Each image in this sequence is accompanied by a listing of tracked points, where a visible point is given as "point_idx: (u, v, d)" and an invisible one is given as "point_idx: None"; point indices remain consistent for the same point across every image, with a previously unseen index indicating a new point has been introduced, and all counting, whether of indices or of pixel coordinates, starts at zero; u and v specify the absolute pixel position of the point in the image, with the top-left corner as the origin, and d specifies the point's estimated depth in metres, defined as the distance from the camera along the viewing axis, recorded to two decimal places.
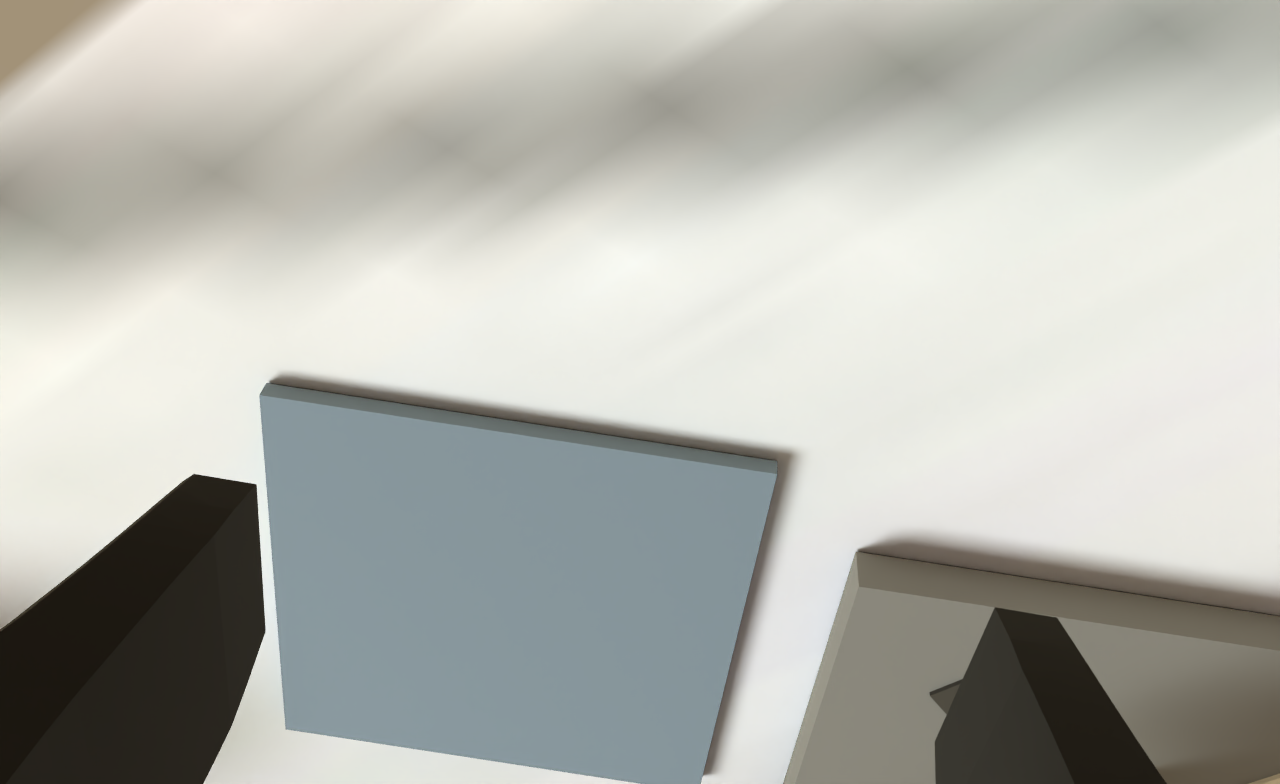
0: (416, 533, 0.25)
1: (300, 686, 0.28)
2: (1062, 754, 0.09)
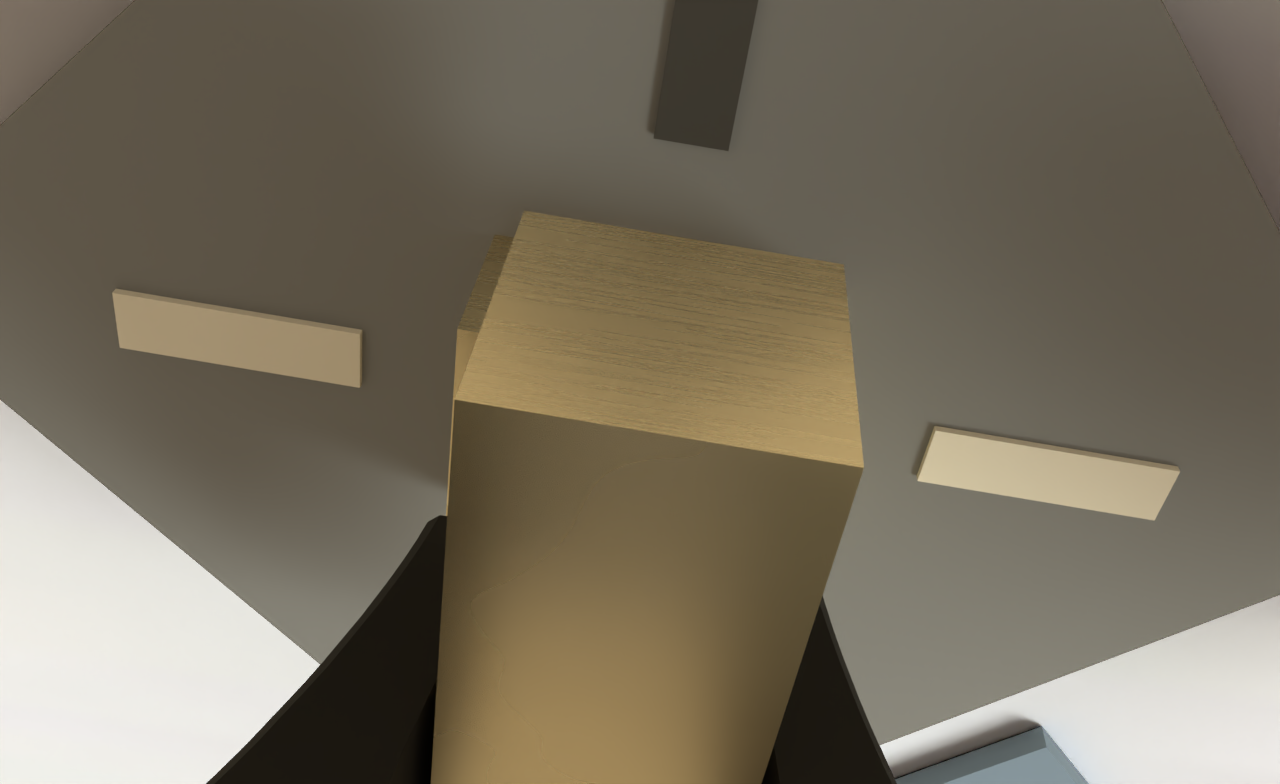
0: None
1: None
2: None
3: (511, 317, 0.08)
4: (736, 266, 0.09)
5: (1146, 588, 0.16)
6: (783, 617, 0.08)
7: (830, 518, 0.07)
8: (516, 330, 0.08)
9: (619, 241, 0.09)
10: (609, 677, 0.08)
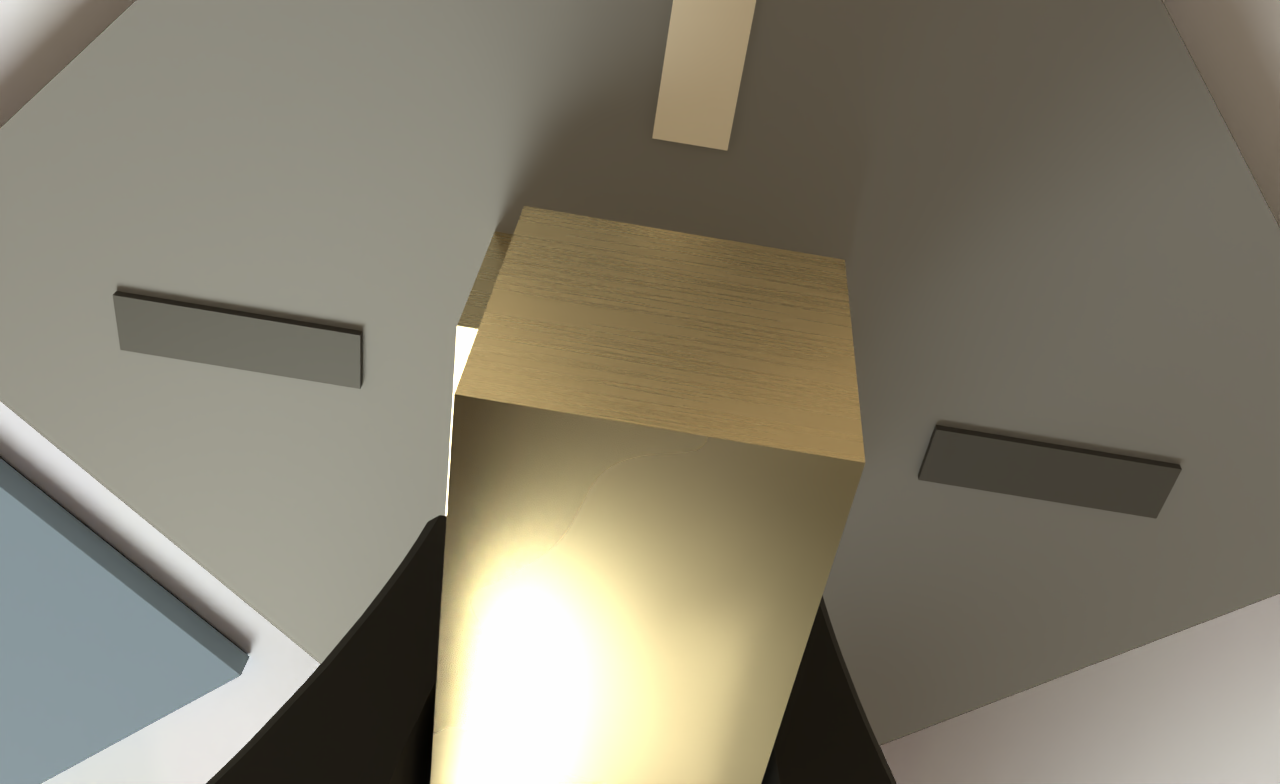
0: None
1: None
2: None
3: (511, 312, 0.08)
4: (737, 261, 0.09)
5: None
6: (784, 613, 0.08)
7: (831, 513, 0.07)
8: (515, 326, 0.08)
9: (619, 236, 0.09)
10: (609, 673, 0.08)
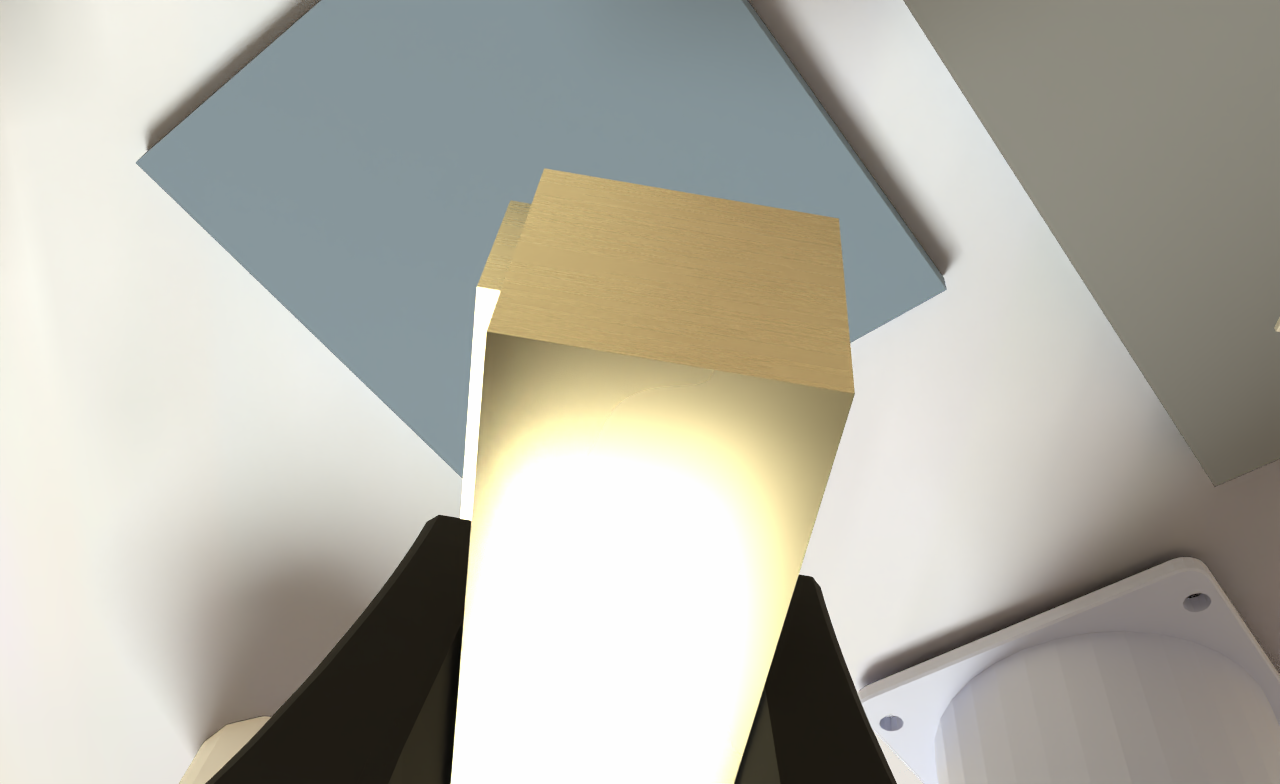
0: (381, 197, 0.21)
1: None
2: (770, 706, 0.09)
3: (535, 261, 0.08)
4: (739, 219, 0.09)
5: (1192, 336, 0.20)
6: (782, 534, 0.09)
7: (824, 441, 0.08)
8: (539, 274, 0.08)
9: (632, 196, 0.09)
10: (623, 591, 0.09)
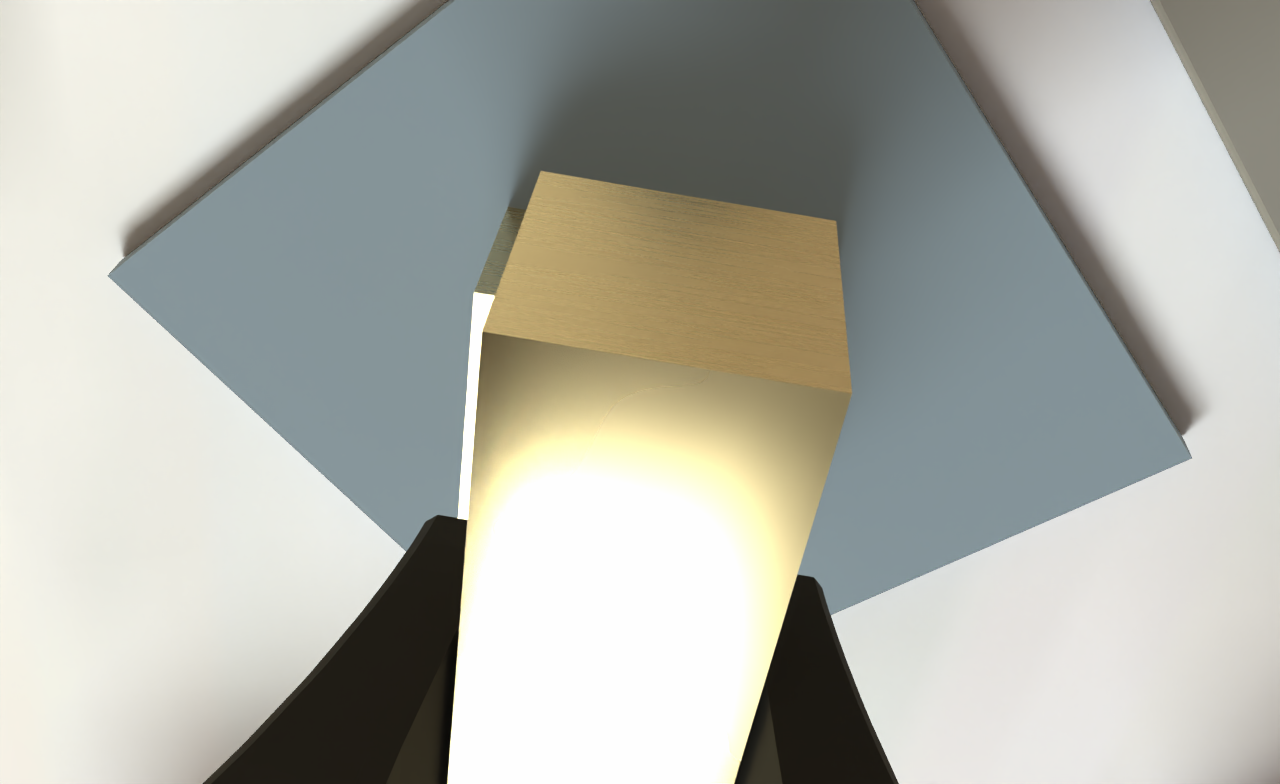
0: (438, 326, 0.15)
1: None
2: (772, 706, 0.09)
3: (531, 262, 0.08)
4: (737, 221, 0.09)
5: None
6: (779, 536, 0.08)
7: (822, 441, 0.08)
8: (537, 275, 0.08)
9: (629, 198, 0.09)
10: (619, 595, 0.09)
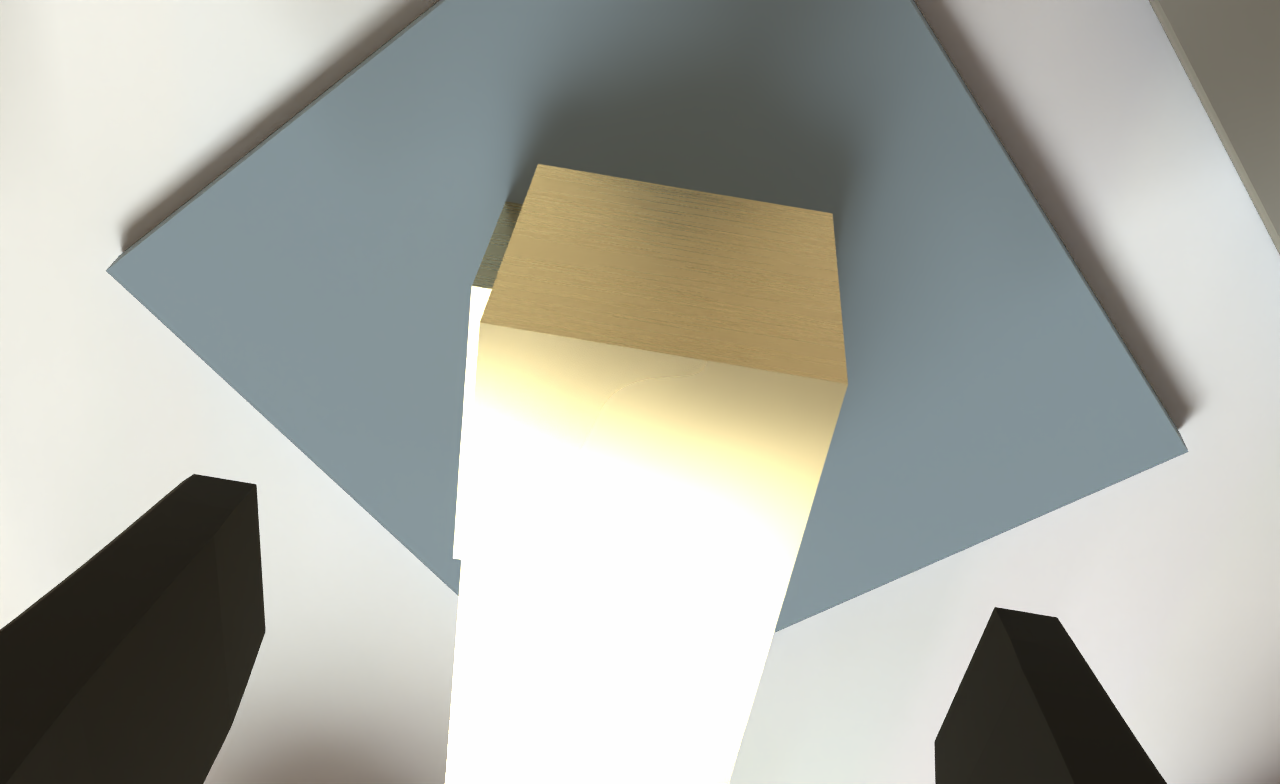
0: (436, 321, 0.15)
1: None
2: (1062, 754, 0.09)
3: (528, 254, 0.08)
4: (733, 213, 0.09)
5: None
6: (776, 527, 0.09)
7: (818, 432, 0.08)
8: (533, 266, 0.08)
9: (626, 190, 0.09)
10: (617, 585, 0.09)
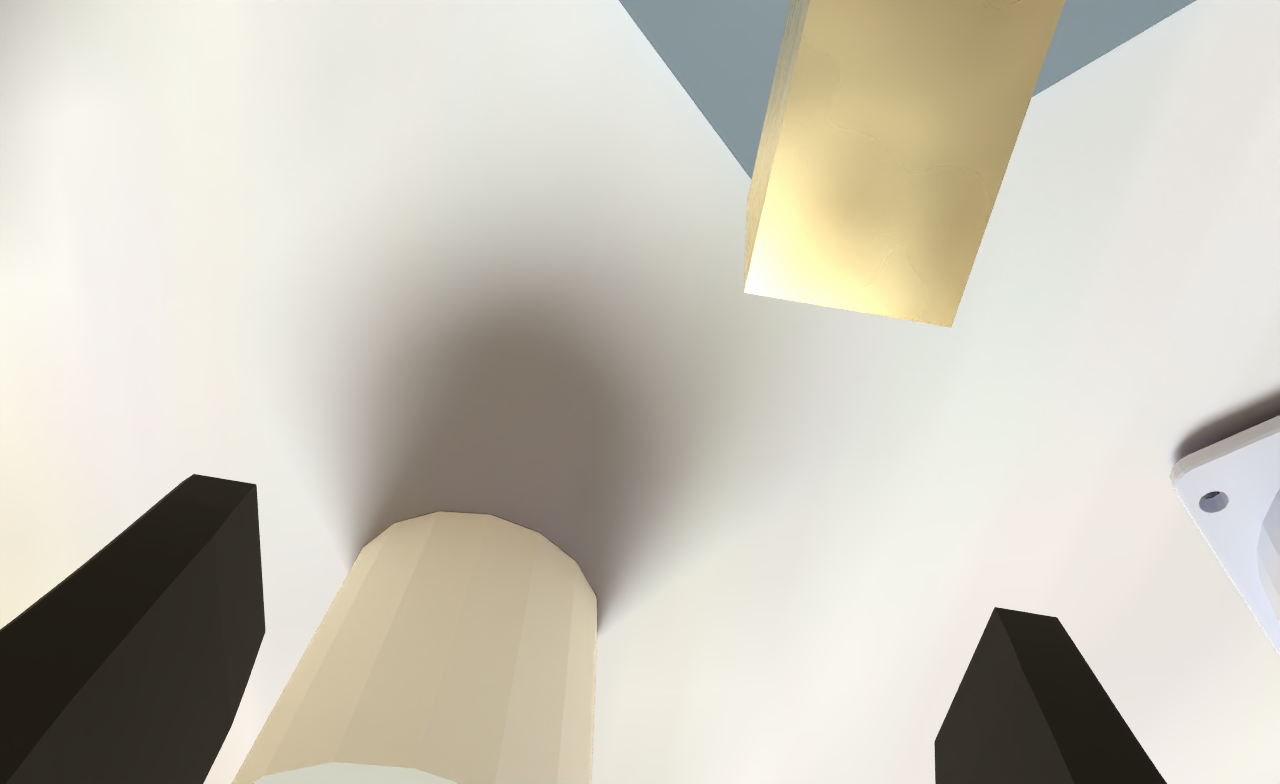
0: None
1: None
2: (1062, 754, 0.09)
3: None
4: None
5: None
6: None
7: None
8: None
9: None
10: None
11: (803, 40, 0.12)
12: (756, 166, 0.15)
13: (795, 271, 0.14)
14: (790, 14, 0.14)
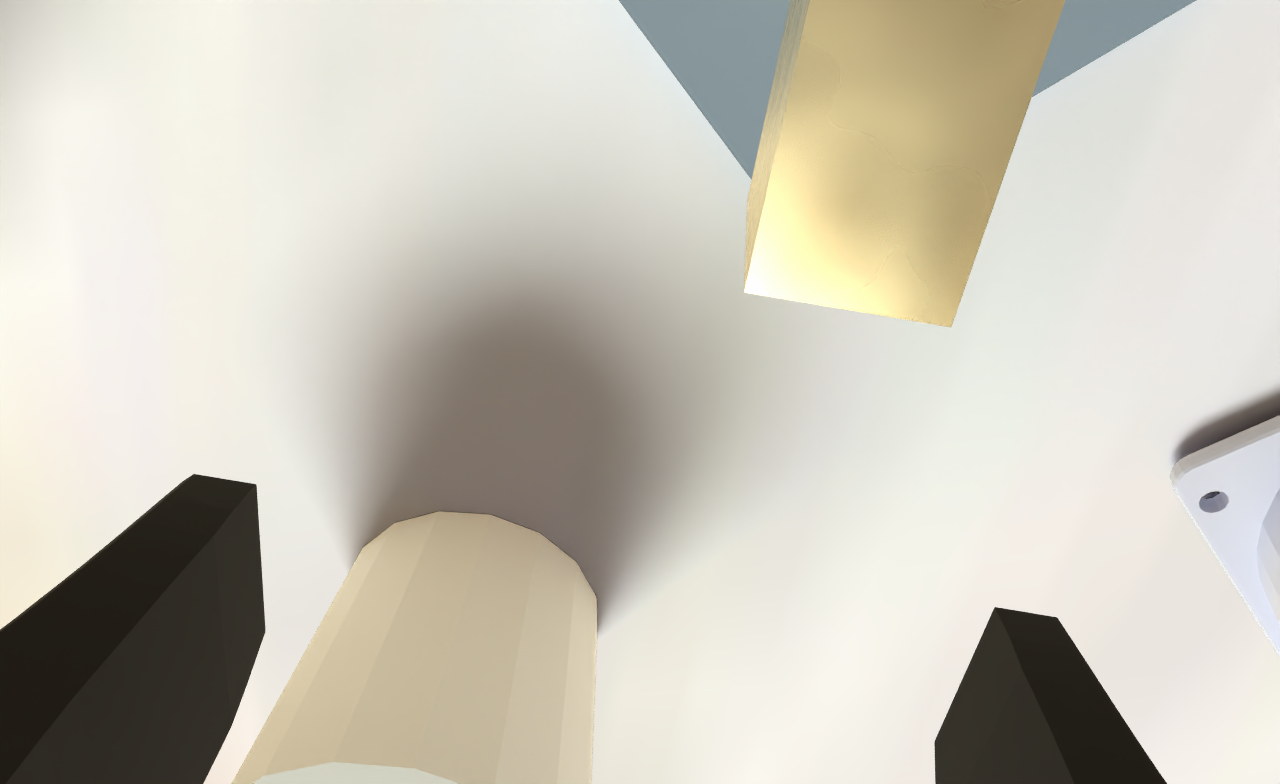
0: None
1: None
2: (1062, 754, 0.09)
3: None
4: None
5: None
6: None
7: None
8: None
9: None
10: None
11: (803, 40, 0.12)
12: (756, 166, 0.15)
13: (795, 271, 0.14)
14: (790, 14, 0.14)
